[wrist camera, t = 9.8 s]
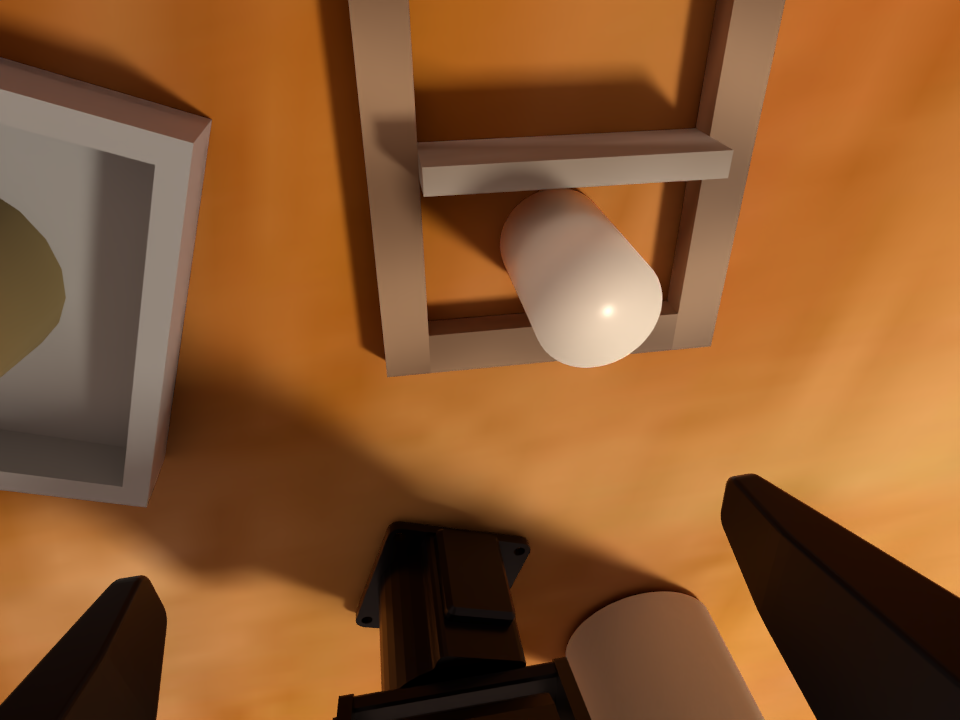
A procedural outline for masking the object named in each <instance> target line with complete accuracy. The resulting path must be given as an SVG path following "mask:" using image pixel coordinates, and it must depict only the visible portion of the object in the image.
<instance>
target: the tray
mask: <svg viewBox="0 0 960 720" xmlns="http://www.w3.org/2000/svg"><path fill="white" fill-rule="evenodd" d="M211 121H212V119H208V118H205V117H202V116H198V115H195V114H191V113H188V112H185V111H181V110H178V109H174V108H171V107H168V106H164V105H161V104H157V103H154V102H151V101H147V100H144V99H141V98H137V97H134V96H130V95H127V94H124V93H120V92H117V91H113V90H110V89H107V88H103V87H100V86H96V85H93V84H90V83H86V82H83V81H79V80H76V79H73V78H69V77H66V76H63V75H59V74H56V73H52V72H49V71H46V70H42V69H39V68H35V67H32V66H29V65H25V64H22V63H18V62H15V61H12V60H8V59H5V58H1V57H0V199H2V200H4V201H5V202H7V203H8V204H10V205H11V206H13V207H14V208H16V209H17V210H19V211H20V212H21V213H22V214H23V215H24V216H25V217H26V218H27V220H28V221H29V222H30V223H31V224H32V225H33V226H34V227H35V228H36V229H37V230H38V231H39V232H40V233H41V234H42V235H43V237H44V238H45V239H46V240H47V242H48V244H49V246H50V248H51V250H52V252H53V253H54V255H55V257H56V259H57V261H58V263H59V265H60V267H61V269H62V275H63V282H64V288H65V295H66V299H65V303H64V306H63V310H62V314H61V317H60V321H59V323H58V325H57V326H56V327H55V328H54V329H53V330H52V332H51V333H50V334H49V335H48V336H47V337H46V339H45V340H44V341H43V342H42V343H41V344H40V345H39V346H37V347H36V348H35V349H34V350H33V351H32V352H30V353H29V354H28V355H27V356H26V357H24V358H23V359H22V360H21V361H20V362H18V363H17V364H16V365H15V366H14V367H13V368H11V369H10V370H9V371H8V372H7V373H5V374H4V375H3V376H2V377H1V378H0V490H5V491H14V492H22V493H30V494H39V495H47V496H55V497H64V498H72V499H80V500H89V501H97V502H105V503H114V504H122V505H130V506H139V507H147V506H148V503H149V500H150V497H151V495H152V492H153V489H154V486H155V484H156V481H157V478H158V475H159V473H160V470H161V467H162V464H163V462H164V459H165V453H166V445H167V438H168V431H169V424H170V417H171V409H172V402H173V395H174V388H175V381H176V373H177V366H178V359H179V352H180V345H181V337H182V330H183V323H184V316H185V309H186V301H187V294H188V287H189V280H190V273H191V265H192V258H193V251H194V244H195V237H196V229H197V222H198V215H199V208H200V201H201V193H202V186H203V179H204V172H205V165H206V157H207V150H208V143H209V136H210V129H211Z"/></svg>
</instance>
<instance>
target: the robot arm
mask: <svg viewBox="0 0 960 720" xmlns="http://www.w3.org/2000/svg"><path fill="white" fill-rule="evenodd" d="M721 522H722V526H723V528H724V531H725V533H726V536H727V538H728V541H729V543H730V545H731V548H732V550H733V553H734V555H735V557H736V560H737V562H738V565H739V567H740V569H741V572H742V574H743V577H744V579H745V581H746V584H747V586H748V589H749V591H750V593H751V596H752V598H753V601H754V603H755V605H756V607H757V610H758V612H759V614H760V616H761V618H762V620H763V622H764V624H765V626H766V628H767V629H768V631H769V633H770V635H771V637H772V638H773V640H774V642H775V644H776V646H777V648H778V649H779V651H780V653H781V655H782V657H783V659H784V660H785V662H786V664H787V666H788V668H789V670H790V671H791V673H792V675H793V677H794V679H795V681H796V682H797V684H798V686H799V688H800V690H801V691H802V693H803V695H804V697H805V699H806V701H807V702H808V704H809V706H810V708H811V710H812V712H813V713H814V715H815V717H816V719H817V720H960V598H959V597H958V596H956V595H954V594H953V593H951V592H949V591H948V590H946V589H945V588H943V587H941V586H940V585H938V584H936V583H935V582H933V581H931V580H930V579H928V578H926V577H925V576H923V575H921V574H920V573H918V572H917V571H915V570H913V569H912V568H910V567H908V566H907V565H905V564H903V563H902V562H900V561H898V560H897V559H895V558H894V557H892V556H890V555H889V554H887V553H885V552H884V551H882V550H880V549H879V548H877V547H875V546H874V545H872V544H870V543H869V542H867V541H866V540H864V539H862V538H861V537H859V536H857V535H856V534H854V533H852V532H851V531H849V530H847V529H846V528H844V527H842V526H841V525H839V524H838V523H836V522H834V521H833V520H831V519H829V518H828V517H826V516H824V515H823V514H821V513H819V512H818V511H816V510H814V509H813V508H811V507H810V506H808V505H806V504H805V503H803V502H801V501H800V500H798V499H796V498H795V497H793V496H791V495H790V494H788V493H787V492H785V491H783V490H782V489H780V488H778V487H777V486H775V485H773V484H772V483H770V482H768V481H767V480H765V479H763V478H762V477H760V476H758V475H756V474H744V475H738V476H732V477H730V478H729V479H728V481H727V483H726V487H725V493H724V498H723V503H722V508H721ZM397 533H402V534H397ZM529 553H530V547H529V543H528V540H527V539H526V538H523V537H518V536H510V535H502V534H494V533H487V532H479V531H471V530H463V529H455V528H447V527H440V526H432V525H424V524H416V523H408V522H395V523H393V524H391V525H390V526H389V527H388V529H387V531H386V534H385V537H384V539H383V542H382V545H381V547H380V550H379V553H378V555H377V558H376V561H375V563H374V566H373V568H372V571H371V574H370V576H369V579H368V582H367V584H366V587H365V590H364V592H363V595H362V598H361V600H360V603H359V606H358V608H357V611H356V623H357V625H359V626H362V627H370V628H380V655H381V684H382V691H381V692H375V693H370V694H364V695H358V696H354V694H349V695H343V696H339V699H338V709H337V717H335V718H333V720H591V717H590V715H589V712H588V710H587V707H586V705H585V702H584V700H583V697H582V695H581V692H580V690H579V687H578V685H577V682H576V680H575V677H574V675H573V672H572V670H571V667H570V665H569V662H568V660H567V657H563V658H557V659H553V660H552V662H548V663H543V664H537V665H531V666H526V661H525V657H524V653H523V648H522V644H521V640H520V636H519V631H518V627H517V623H516V618H515V609H514V605H513V601H512V597H511V592H510V588H511V587H512V585H513V583H514V581H515V579H516V577H517V575H518V573H519V572H520V570H521V568H522V566H523V564H524V562H525V560H526V559H527V557H528V555H529ZM166 628H167V616H166V611H165V608H164V606H163V604H162V602H161V600H160V598H159V597H158V595H157V593H156V591H155V589H154V587H153V585H152V583H151V581H150V580H149V579H148V578H147V577H146V576H142V575H140V576H134V577H128V578H122V579H118V580H116V581H114V582H113V583H112V584H111V585H110V586H109V587H108V588H107V589H106V590H105V591H104V592H103V593H102V594H101V596H100V597H99V598H98V599H97V600H96V601H95V602H94V603H93V604H92V605H91V606H90V608H89V609H88V610H87V611H86V612H85V613H84V614H83V615H82V616H81V617H80V619H79V620H78V621H77V622H76V623H75V624H74V625H73V626H72V627H71V628H70V629H69V631H68V632H67V633H66V634H65V635H64V636H63V637H62V638H61V639H60V640H59V641H58V643H57V644H56V645H55V646H54V647H53V648H52V649H51V650H50V651H49V652H48V653H47V655H46V656H45V657H44V658H43V659H42V660H41V661H40V662H39V663H38V664H37V666H36V667H35V668H34V669H33V670H32V671H31V672H30V673H29V674H28V675H27V676H26V678H25V679H24V680H23V681H22V682H21V683H20V684H19V685H18V686H17V687H16V688H15V690H14V691H13V692H12V693H11V694H10V695H9V696H8V697H7V698H6V699H5V701H4V702H3V703H2V704H1V705H0V720H156V717H157V709H158V700H159V691H160V682H161V673H162V664H163V655H164V646H165V637H166Z"/></svg>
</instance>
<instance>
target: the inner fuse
mask: <svg viewBox="0 0 960 720" xmlns="http://www.w3.org/2000/svg"><path fill="white" fill-rule="evenodd" d="M500 252H501V257H502V260H503V263H504V265H505V267H506V270H507V272H508V274H509V276H510V279H511V281H512V283H513V285H514V287H515V290H516V292H517V294H518V296H519V299H520V301H521V303H522V305H523V308H524V310H525V312H526V314H527V317H528V319H529V321H530V323H531V326H532V328H533V330H534V332H535V335H536V337H537V339H538V341H539V343H540V345H541V346H542V347H543V349H544V350H545V351H546V352H547V353H548V354H549V355H550V356H551V357H553V358H554V359H556V360H557V361H559V362H561V363H563V364H566V365H569V366H574V367H582V368H589V367H598V366H603V365H607V364H610V363H613V362H615V361H618V360H620V359H622V358H624V357H625V356H627V355H629V354H630V353H632V352H633V351H634V350H635V349H637V348H638V347H639V346H640V345H641V344H642V343H643V342H644V341H645V340H646V339H647V337H648V336H649V335H650V333H651V332H652V330H653V329H654V327H655V325H656V323H657V321H658V318H659V315H660V312H661V308H662V290H661V285H660V282H659V279H658V277H657V275H656V274H655V272H654V271H653V269H652V268H651V267H650V266H649V265H648V264H647V262H646V261H645V260H644V259H643V258H642V257H641V256H640V254H639V253H638V252H637V251H636V250H635V249H634V248H633V246H632V245H631V244H630V243H629V242H628V241H627V240H626V239H625V237H624V236H623V235H622V234H621V233H620V232H619V231H618V229H617V228H616V227H615V226H614V225H613V224H612V223H611V221H610V220H609V219H608V218H607V217H606V216H605V215H604V214H603V212H602V211H601V210H600V209H599V208H598V207H597V206H596V204H595V203H594V202H593V201H592V200H591V199H590V198H588V197H587V196H586V195H584V194H582V193H580V192H578V191H575V190H572V189H567V188H560V189H546V190H542V191H539V192H537V193H534V194H532V195H531V196H529V197H527V198H526V199H524V200H523V201H522V202H520V203H519V204H518V205H517V206H516V207H515V208H514V210H513V211H512V212H511V213H510V215H509V216H508V218H507V220H506V222H505V224H504V226H503V229H502V232H501V237H500Z"/></svg>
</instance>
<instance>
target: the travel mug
mask: <svg viewBox="0 0 960 720" xmlns="http://www.w3.org/2000/svg"><path fill="white" fill-rule="evenodd" d="M566 657H567V660H568V662H569V665H570V667H571V670H572V672H573V675H574V677H575V680H576V682H577V685H578V687H579V690H580V692H581V695H582V697H583V700H584V702H585V705H586V707H587V710H588V712H589V715H590V717H591V720H764V718H763V716H762V714H761V712H760V710H759V708H758V706H757V704H756V702H755V700H754V698H753V696H752V695H751V693H750V691H749V689H748V687H747V685H746V683H745V681H744V679H743V677H742V675H741V673H740V671H739V670H738V668H737V666H736V664H735V662H734V660H733V658H732V656H731V654H730V652H729V650H728V648H727V646H726V645H725V643H724V641H723V639H722V637H721V635H720V633H719V631H718V629H717V627H716V625H715V623H714V621H713V620H712V618H711V616H710V614H709V612H708V610H707V608H706V607H705V606H704V605H703V603H701V602H700V601H699V600H697V599H696V598H694V597H692V596H689V595H686V594H683V593H678V592H667V591H661V592H649V593H643V594H638V595H633V596H630V597H626V598H624V599H621V600H619V601H616V602H614V603H612V604H610V605H608V606H606V607H604V608H602V609H601V610H599V611H597V612H596V613H594V614H593V615H591V616H590V617H589V618H588V619H586V620H585V621H584V622H583V623H582V624H581V625H580V626H579V627H578V628H577V629H576V631H575V632H574V633H573V635H572V636H571V638H570V640H569V642H568V645H567V648H566Z"/></svg>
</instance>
